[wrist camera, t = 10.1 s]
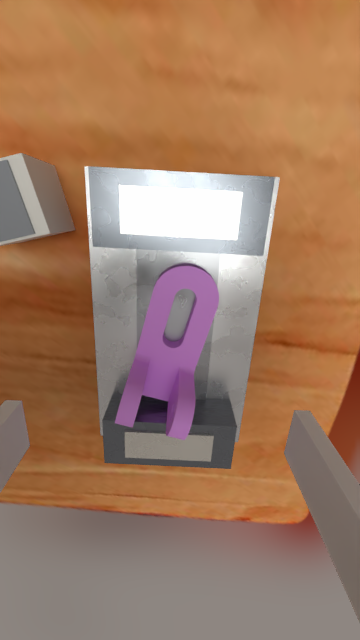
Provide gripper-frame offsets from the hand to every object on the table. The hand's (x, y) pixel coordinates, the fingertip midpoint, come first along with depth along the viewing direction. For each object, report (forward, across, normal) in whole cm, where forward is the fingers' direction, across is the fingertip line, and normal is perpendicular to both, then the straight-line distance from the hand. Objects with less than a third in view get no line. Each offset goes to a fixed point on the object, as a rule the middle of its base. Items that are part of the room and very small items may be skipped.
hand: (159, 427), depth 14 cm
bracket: (+13, +1, 0) cm, 13 cm away
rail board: (+14, +1, 0) cm, 14 cm away
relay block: (+15, -11, +10) cm, 21 cm away
